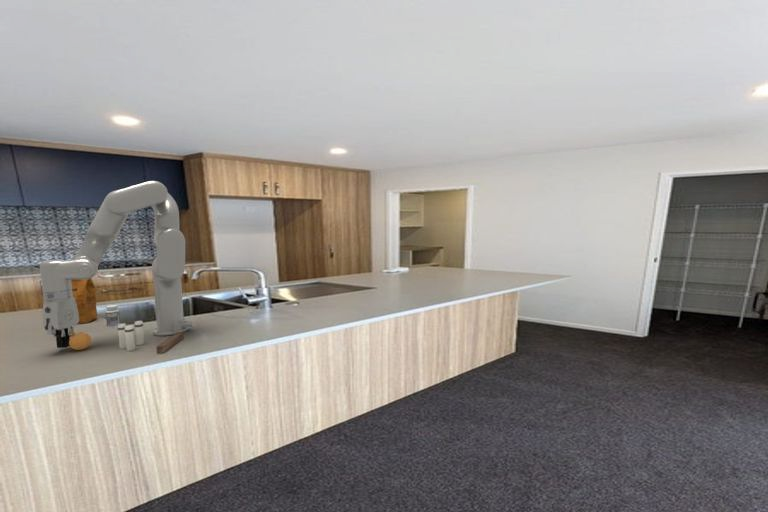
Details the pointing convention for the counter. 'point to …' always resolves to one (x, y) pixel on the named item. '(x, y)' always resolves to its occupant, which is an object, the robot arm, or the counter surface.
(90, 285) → the coffee package
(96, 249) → the robot arm
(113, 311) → the pill bottle
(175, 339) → the brown wooden bar
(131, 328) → the pin
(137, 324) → the pin
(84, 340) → the ball
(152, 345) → the counter surface
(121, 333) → the front pin
